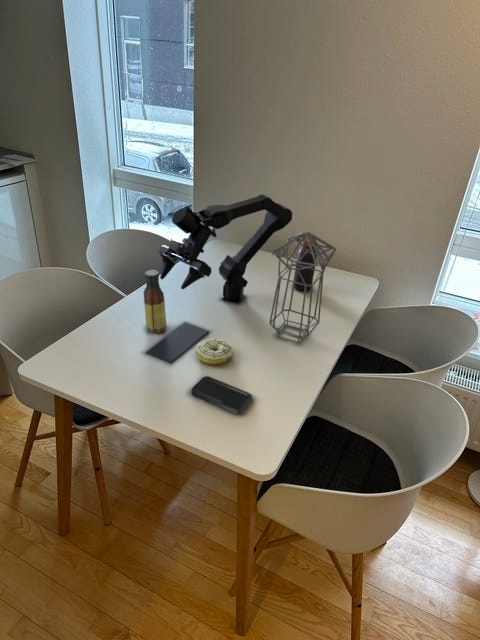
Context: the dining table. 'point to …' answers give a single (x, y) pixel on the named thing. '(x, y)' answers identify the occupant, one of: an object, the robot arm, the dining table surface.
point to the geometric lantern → (315, 244)
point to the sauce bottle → (154, 303)
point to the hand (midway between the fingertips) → (171, 283)
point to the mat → (177, 342)
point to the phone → (221, 394)
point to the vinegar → (305, 273)
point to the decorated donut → (214, 351)
